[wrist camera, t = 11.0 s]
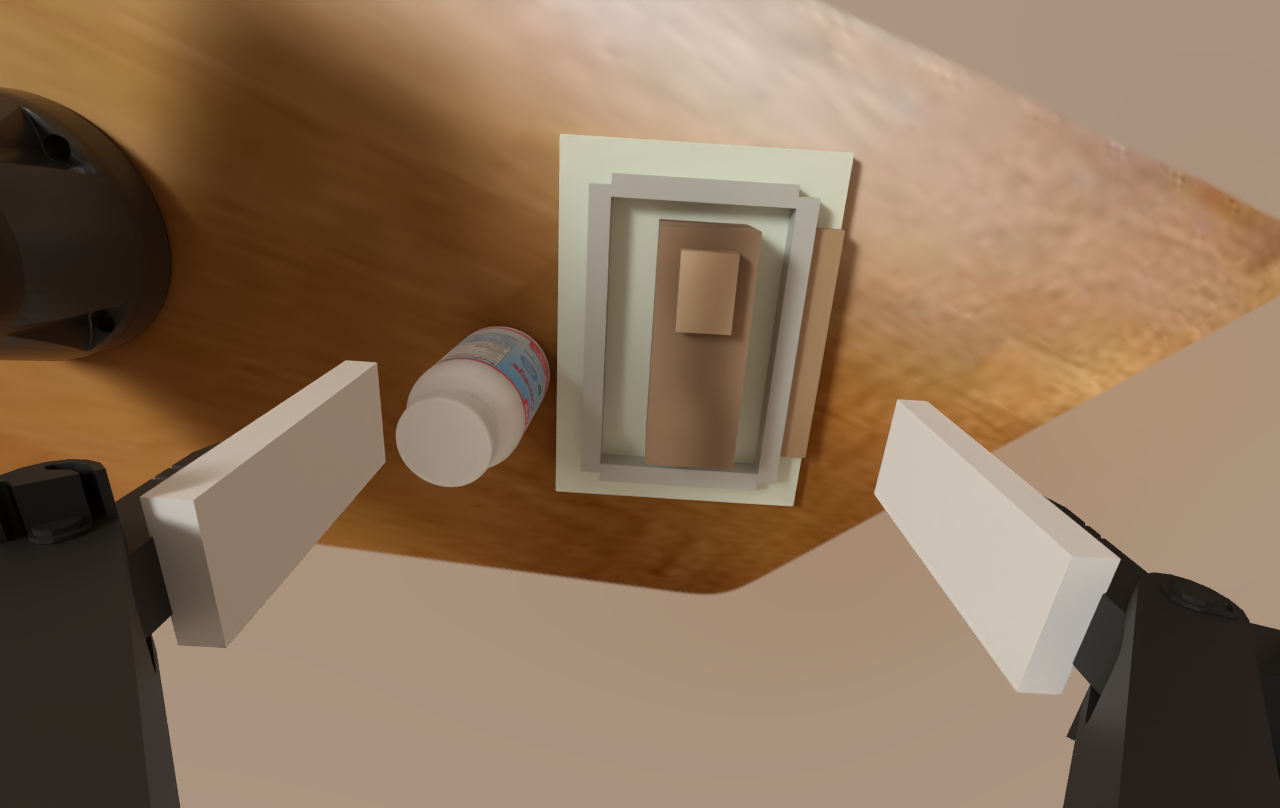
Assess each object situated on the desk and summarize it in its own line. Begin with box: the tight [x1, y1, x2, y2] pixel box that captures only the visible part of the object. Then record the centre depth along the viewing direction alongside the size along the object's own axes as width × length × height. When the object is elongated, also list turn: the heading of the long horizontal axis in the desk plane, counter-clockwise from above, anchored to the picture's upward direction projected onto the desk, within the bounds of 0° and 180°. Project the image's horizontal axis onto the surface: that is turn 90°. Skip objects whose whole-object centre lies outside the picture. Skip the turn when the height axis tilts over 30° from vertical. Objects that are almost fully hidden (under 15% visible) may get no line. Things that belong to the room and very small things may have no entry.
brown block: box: [645, 219, 762, 470], centre depth 34 cm, size 5×13×6 cm, turn 177°
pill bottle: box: [396, 326, 550, 487], centre depth 33 cm, size 6×6×11 cm
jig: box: [556, 134, 854, 506], centre depth 36 cm, size 16×22×2 cm
